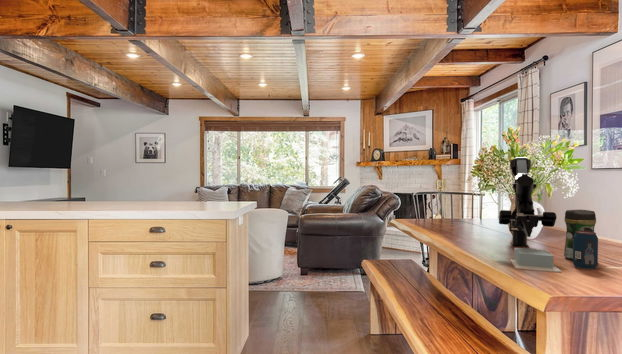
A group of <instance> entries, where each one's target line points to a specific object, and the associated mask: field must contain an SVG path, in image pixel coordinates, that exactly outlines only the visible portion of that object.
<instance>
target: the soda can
mask: <svg viewBox="0 0 622 354" xmlns="http://www.w3.org/2000/svg"><path fill="white" fill-rule="evenodd" d="M598 260H599V237H598V236H597V233H596V232H595V231H594V232H588V231H576V233H575V234H574V236H573V260H572V264H573V266H574V267H575V268H578V269H580V270H592V271H593V270H596V268H597V267H598V265H599V264H598V263H599V261H598Z"/></svg>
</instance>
